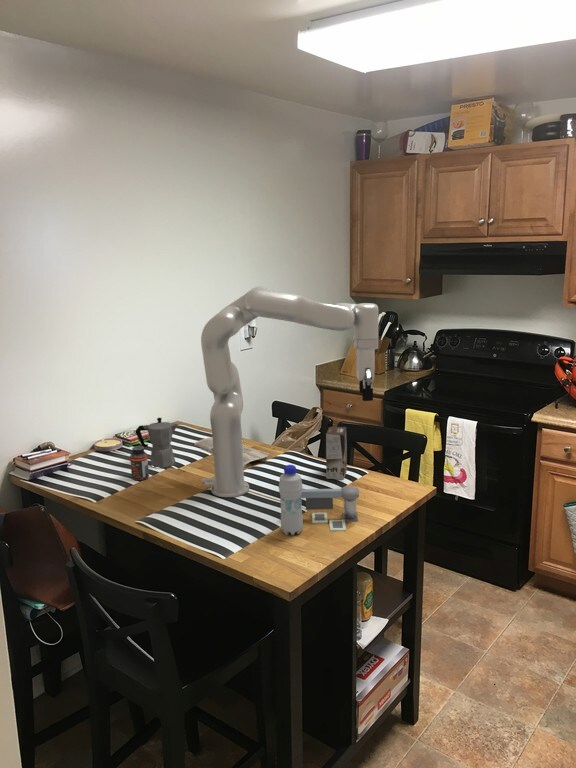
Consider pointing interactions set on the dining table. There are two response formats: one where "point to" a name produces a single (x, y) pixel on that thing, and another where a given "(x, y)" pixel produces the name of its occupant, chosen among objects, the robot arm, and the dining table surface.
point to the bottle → (291, 500)
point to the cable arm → (327, 497)
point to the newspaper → (248, 453)
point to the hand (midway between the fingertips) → (366, 396)
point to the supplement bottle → (139, 463)
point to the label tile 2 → (337, 525)
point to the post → (350, 510)
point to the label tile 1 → (319, 518)
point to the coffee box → (336, 452)
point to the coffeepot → (159, 442)
